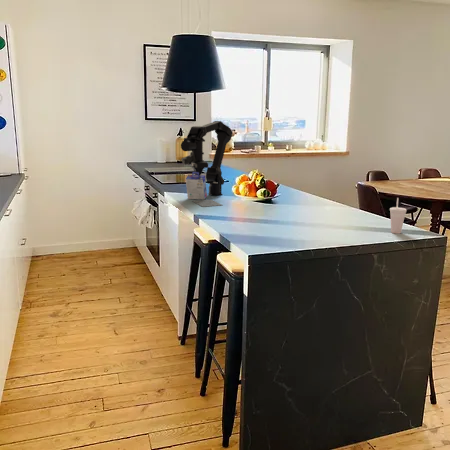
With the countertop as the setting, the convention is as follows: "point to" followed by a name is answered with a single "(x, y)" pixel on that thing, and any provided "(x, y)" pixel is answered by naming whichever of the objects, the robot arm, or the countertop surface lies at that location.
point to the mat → (207, 203)
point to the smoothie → (397, 218)
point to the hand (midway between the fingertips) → (197, 179)
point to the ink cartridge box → (196, 186)
